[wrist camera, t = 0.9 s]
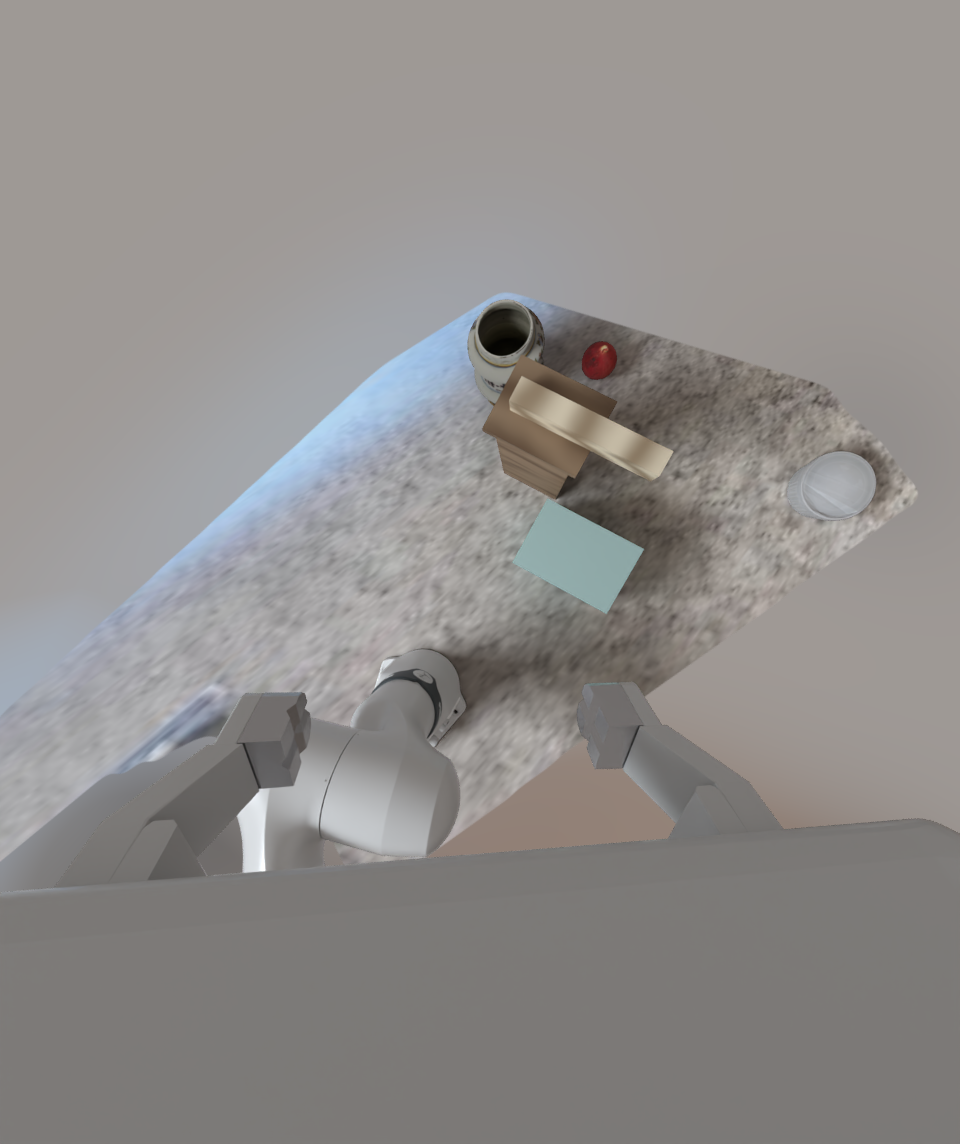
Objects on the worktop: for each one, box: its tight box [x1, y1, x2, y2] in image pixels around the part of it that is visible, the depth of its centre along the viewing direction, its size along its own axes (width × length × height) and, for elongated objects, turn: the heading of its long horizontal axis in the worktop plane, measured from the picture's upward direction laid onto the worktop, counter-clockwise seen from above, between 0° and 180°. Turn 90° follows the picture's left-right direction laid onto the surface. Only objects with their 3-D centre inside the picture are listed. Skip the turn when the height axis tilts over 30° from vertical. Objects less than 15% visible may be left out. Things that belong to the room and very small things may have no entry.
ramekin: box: [787, 451, 876, 521], centre depth 64 cm, size 11×11×5 cm
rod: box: [509, 376, 674, 481], centre depth 44 cm, size 19×3×3 cm, turn 62°
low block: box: [512, 499, 644, 614], centre depth 65 cm, size 11×16×15 cm
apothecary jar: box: [468, 300, 545, 406], centre depth 64 cm, size 12×12×18 cm
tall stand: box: [482, 354, 617, 499], centre depth 59 cm, size 10×13×26 cm
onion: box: [582, 341, 617, 380], centre depth 67 cm, size 6×6×8 cm
